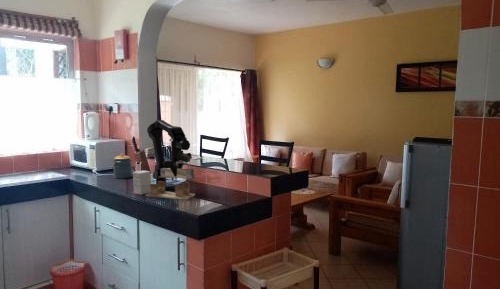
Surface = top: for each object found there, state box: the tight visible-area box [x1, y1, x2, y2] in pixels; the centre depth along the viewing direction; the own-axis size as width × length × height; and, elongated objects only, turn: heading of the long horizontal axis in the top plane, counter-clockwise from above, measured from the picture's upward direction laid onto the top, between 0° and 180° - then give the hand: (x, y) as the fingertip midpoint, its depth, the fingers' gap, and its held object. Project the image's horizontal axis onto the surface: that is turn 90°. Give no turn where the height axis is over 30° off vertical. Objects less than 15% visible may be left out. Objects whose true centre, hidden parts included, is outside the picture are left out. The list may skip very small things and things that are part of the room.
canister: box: [112, 152, 133, 180], centre depth 269 cm, size 13×13×18 cm
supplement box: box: [132, 170, 152, 195], centre depth 216 cm, size 7×7×13 cm
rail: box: [161, 167, 195, 180], centre depth 215 cm, size 4×20×5 cm, turn 70°
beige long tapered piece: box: [144, 181, 196, 200], centre depth 208 cm, size 10×26×7 cm, turn 70°
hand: (177, 175), depth 215 cm, fingers closed on rail, 3 cm apart
